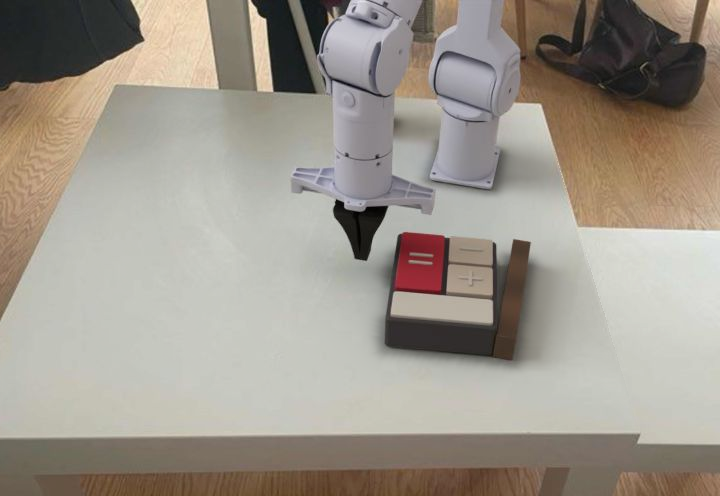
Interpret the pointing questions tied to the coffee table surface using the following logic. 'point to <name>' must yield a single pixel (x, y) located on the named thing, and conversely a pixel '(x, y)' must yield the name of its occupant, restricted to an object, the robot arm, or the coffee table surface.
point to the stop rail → (512, 300)
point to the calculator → (443, 294)
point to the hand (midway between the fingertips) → (362, 254)
